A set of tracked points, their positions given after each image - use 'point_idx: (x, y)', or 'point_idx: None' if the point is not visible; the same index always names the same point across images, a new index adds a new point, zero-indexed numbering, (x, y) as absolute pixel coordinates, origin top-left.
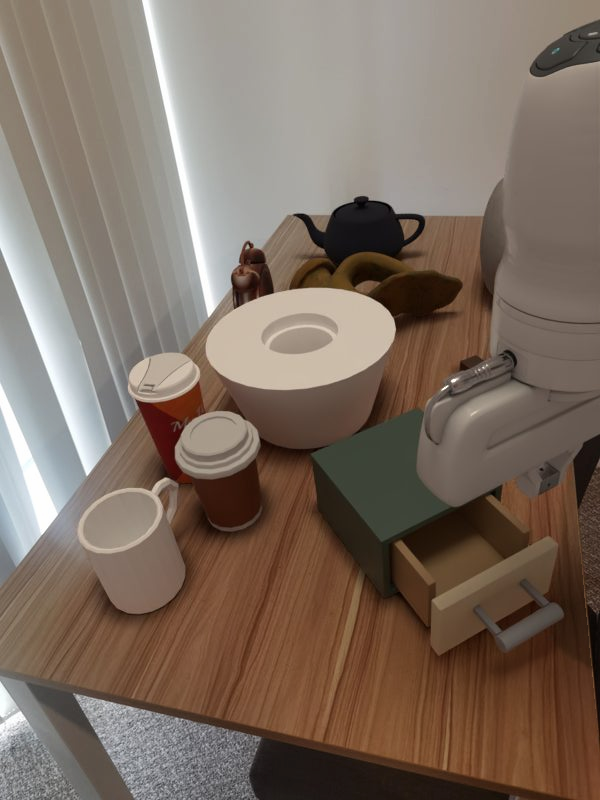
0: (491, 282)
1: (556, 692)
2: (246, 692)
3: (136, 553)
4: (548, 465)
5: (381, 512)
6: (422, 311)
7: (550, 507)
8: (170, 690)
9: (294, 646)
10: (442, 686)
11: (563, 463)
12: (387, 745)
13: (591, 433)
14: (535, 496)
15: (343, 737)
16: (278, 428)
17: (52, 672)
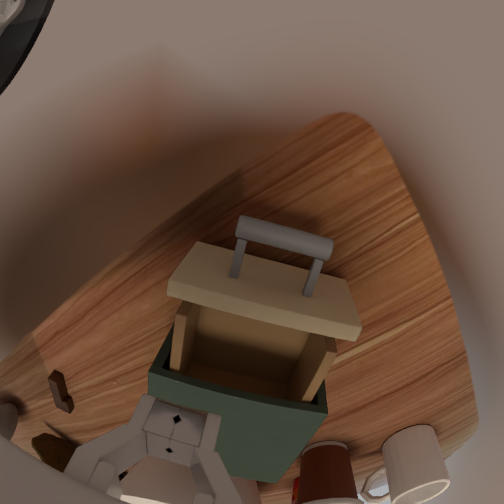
0: (14, 423)
1: (290, 172)
2: (448, 354)
3: (437, 473)
4: (150, 445)
5: (293, 431)
6: (66, 443)
7: (109, 289)
8: (465, 380)
9: (403, 360)
10: (362, 257)
11: (129, 442)
12: (432, 258)
13: (57, 497)
14: (215, 418)
15: (444, 287)
16: (251, 484)
17: (476, 417)
